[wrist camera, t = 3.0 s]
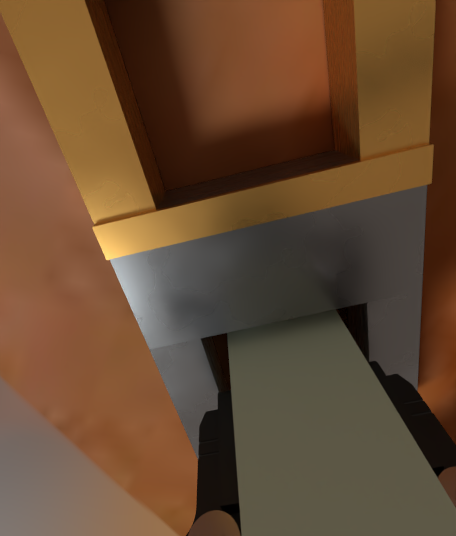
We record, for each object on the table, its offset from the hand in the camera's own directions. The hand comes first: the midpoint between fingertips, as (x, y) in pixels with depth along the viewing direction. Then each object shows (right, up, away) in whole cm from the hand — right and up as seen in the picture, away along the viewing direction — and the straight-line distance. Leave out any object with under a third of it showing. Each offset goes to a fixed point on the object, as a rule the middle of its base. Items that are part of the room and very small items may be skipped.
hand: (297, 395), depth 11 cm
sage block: (0, +1, +2) cm, 3 cm away
